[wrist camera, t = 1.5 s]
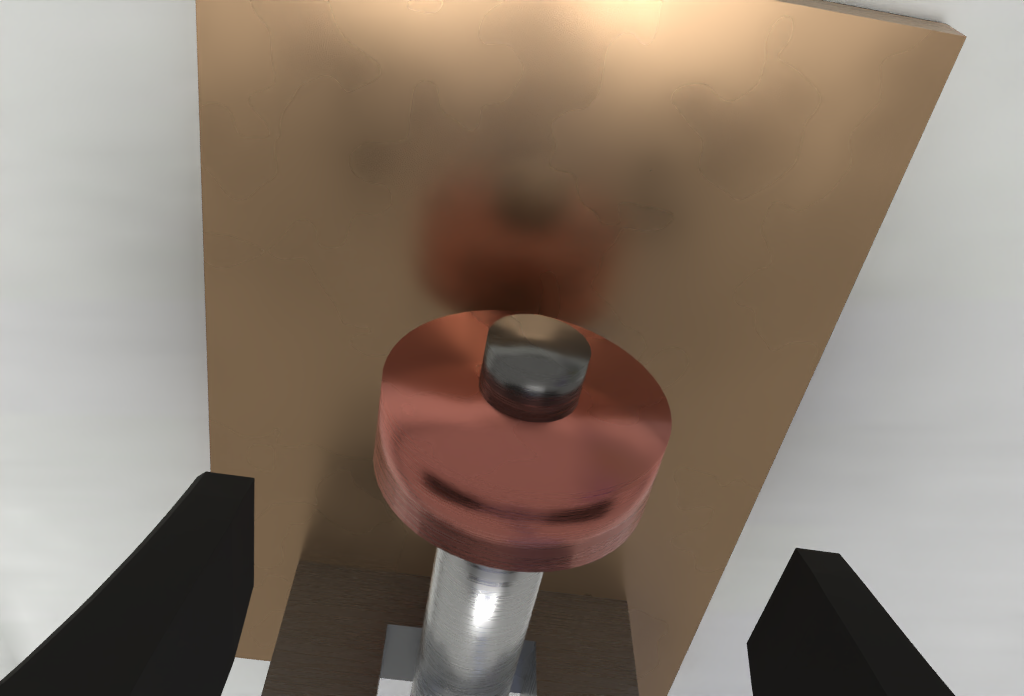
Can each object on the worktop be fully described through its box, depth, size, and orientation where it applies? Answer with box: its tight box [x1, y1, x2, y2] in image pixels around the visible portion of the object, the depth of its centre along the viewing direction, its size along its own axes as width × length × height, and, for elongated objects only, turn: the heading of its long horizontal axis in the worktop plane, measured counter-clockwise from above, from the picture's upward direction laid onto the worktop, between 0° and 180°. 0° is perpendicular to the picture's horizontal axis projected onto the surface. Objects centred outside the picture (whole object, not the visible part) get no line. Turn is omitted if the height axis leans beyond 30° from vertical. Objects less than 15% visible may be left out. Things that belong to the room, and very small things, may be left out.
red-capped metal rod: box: [373, 310, 672, 696], centre depth 16 cm, size 12×5×5 cm, turn 170°
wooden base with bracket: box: [196, 0, 966, 696], centre depth 16 cm, size 18×12×7 cm, turn 170°
